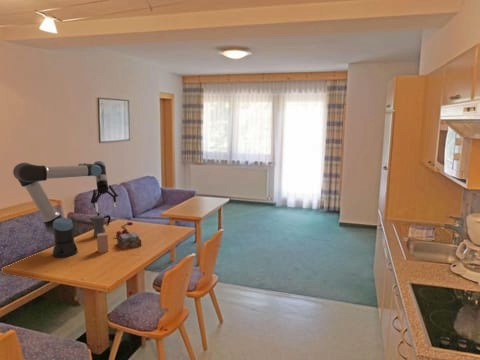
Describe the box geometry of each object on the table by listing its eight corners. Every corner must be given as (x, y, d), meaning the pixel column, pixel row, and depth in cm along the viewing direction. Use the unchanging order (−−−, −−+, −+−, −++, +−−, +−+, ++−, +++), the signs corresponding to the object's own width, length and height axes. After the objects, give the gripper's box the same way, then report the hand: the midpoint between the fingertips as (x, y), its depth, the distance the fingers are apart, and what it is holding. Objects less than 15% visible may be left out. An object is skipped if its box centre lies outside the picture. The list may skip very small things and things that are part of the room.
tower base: (121, 249, 252) (120, 239, 251) (117, 243, 264) (117, 234, 263) (141, 245, 258) (141, 236, 257) (137, 240, 270) (136, 231, 269)
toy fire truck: (115, 237, 279) (115, 225, 278) (130, 233, 290) (130, 221, 288) (118, 238, 277) (117, 225, 276) (133, 233, 288) (132, 221, 286)
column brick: (99, 253, 244) (97, 236, 242) (97, 250, 250) (96, 233, 248) (108, 251, 247) (107, 234, 245) (107, 249, 252) (105, 232, 250)
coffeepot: (90, 238, 277) (89, 215, 274) (90, 235, 285) (89, 212, 283) (112, 235, 282) (110, 213, 280) (111, 232, 291) (110, 210, 288)
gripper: (120, 178, 268) (124, 205, 262) (89, 187, 270) (92, 214, 264) (115, 175, 261) (119, 203, 255) (83, 185, 263) (86, 213, 257)
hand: (105, 209), depth 260 cm, fingers open, 13 cm apart
